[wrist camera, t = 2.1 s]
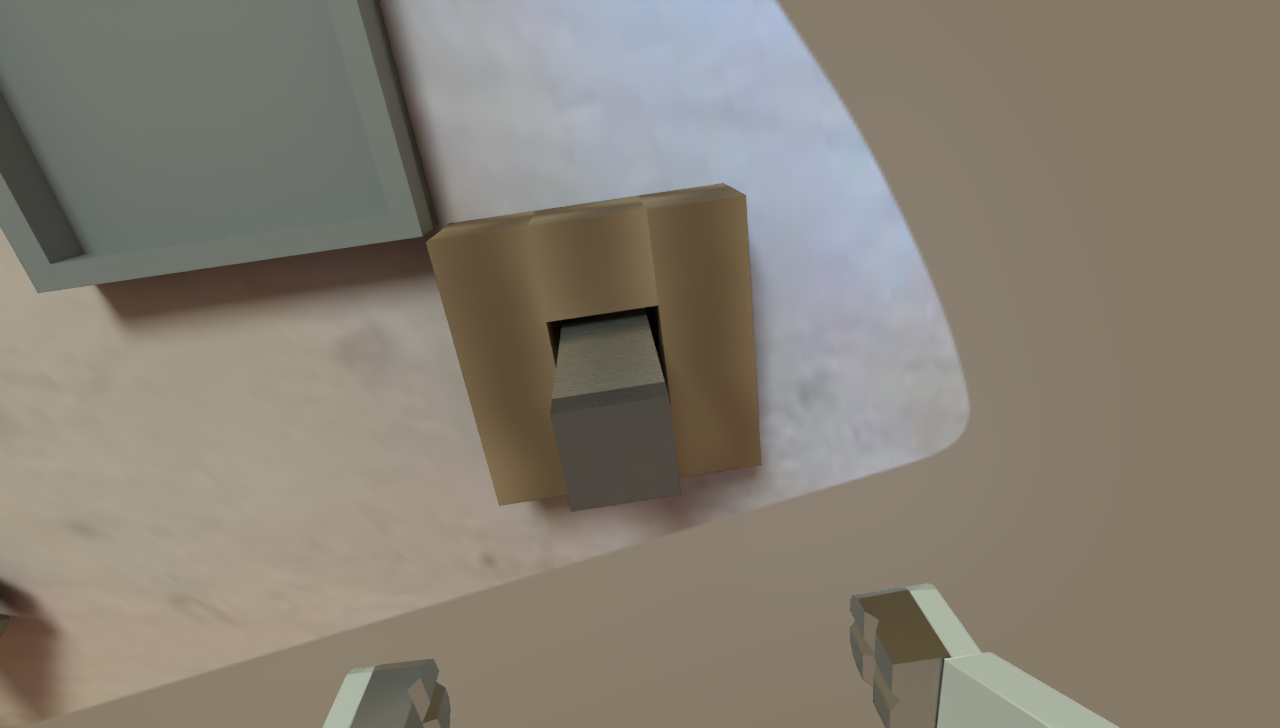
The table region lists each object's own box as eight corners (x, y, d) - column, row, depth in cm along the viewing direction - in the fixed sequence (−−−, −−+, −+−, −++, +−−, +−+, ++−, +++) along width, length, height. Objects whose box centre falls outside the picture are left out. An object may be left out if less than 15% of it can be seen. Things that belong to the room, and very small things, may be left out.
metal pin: (578, 370, 29) (571, 511, 18) (565, 302, 27) (549, 414, 17) (649, 359, 29) (681, 494, 19) (640, 290, 27) (668, 396, 17)
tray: (88, 276, 25) (37, 293, 23) (-146, -170, 19) (-246, -209, 17) (437, 225, 25) (422, 236, 23) (315, -232, 19) (279, -278, 17)
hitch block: (510, 457, 30) (499, 505, 26) (449, 223, 25) (425, 242, 22) (740, 422, 30) (761, 464, 27) (723, 183, 26) (745, 195, 22)
